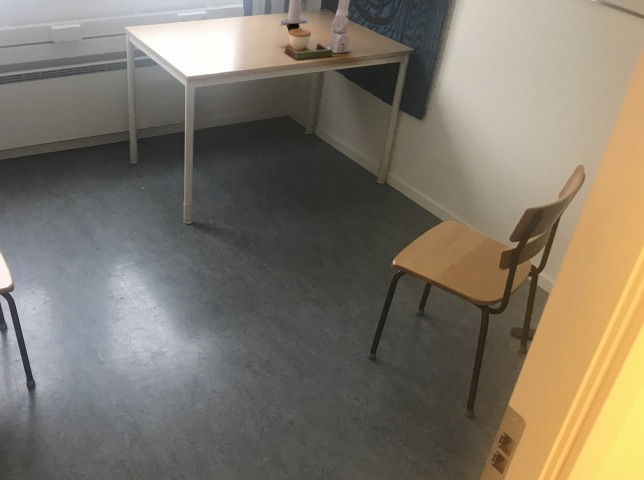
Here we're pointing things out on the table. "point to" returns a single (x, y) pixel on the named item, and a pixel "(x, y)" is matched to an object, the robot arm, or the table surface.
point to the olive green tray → (310, 53)
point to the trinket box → (299, 38)
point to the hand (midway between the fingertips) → (291, 39)
